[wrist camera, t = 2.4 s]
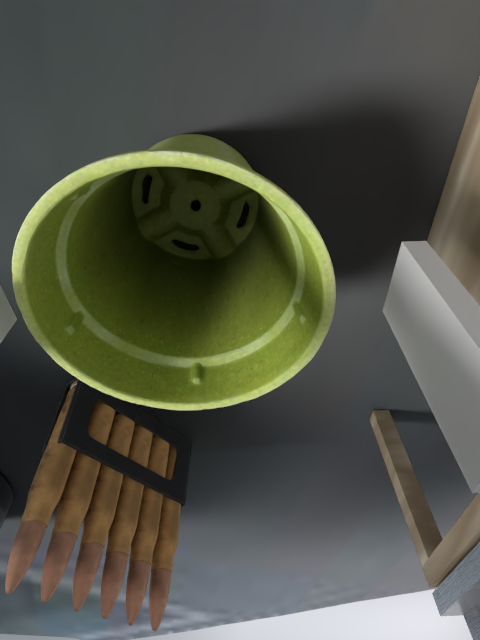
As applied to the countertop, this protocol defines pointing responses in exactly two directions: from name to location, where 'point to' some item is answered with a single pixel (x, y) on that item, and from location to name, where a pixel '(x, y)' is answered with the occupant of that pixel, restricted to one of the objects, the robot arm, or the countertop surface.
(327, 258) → the plant pot
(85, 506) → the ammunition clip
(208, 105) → the countertop surface
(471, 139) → the housing
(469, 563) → the lid
